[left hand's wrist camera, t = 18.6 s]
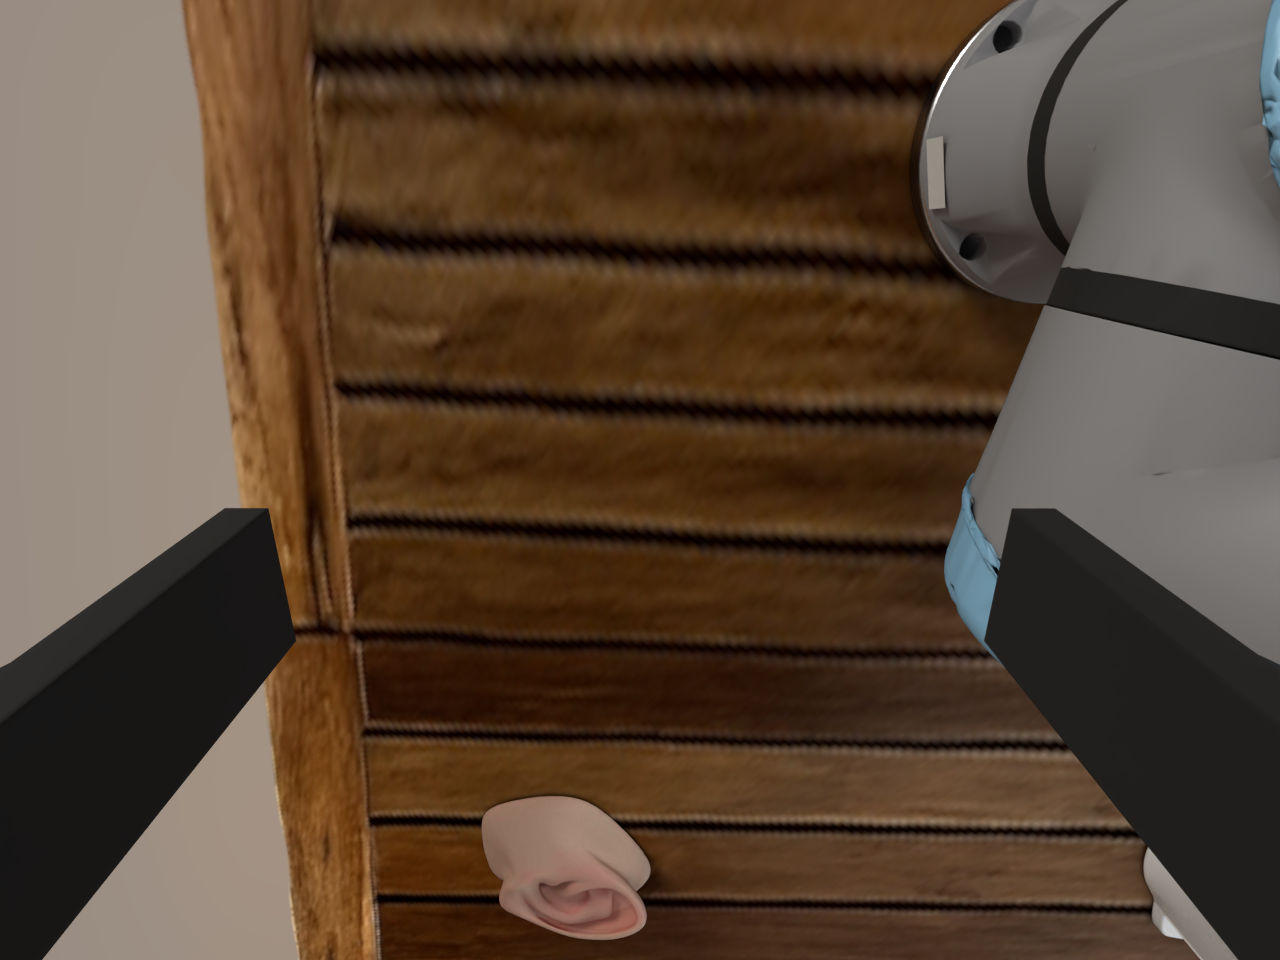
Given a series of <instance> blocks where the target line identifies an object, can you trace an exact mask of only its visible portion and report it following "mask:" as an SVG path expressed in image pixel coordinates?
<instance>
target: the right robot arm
mask: <svg viewBox="0 0 1280 960" xmlns="http://www.w3.org/2000/svg"><path fill="white" fill-rule="evenodd" d="M1143 871H1144V877H1145V881H1146V884H1147V886H1148V888H1149V890H1150V891H1151V893H1152V896H1153V899H1154V903H1153V909H1152V921H1153V923H1154V924H1155V925H1156V927H1157V928H1158V929H1159V930H1160V931H1161V932H1162V934H1164V935H1165V936H1168V937H1173V938H1179V939H1184V940H1185V941H1186V943H1187V944H1188V945H1189V946H1190V947H1191V949H1192V950H1193V951H1194V952H1195V953H1196V955H1197V956H1198V957H1199V958H1200V959H1201V960H1238V959H1237V958H1236V957H1235V955H1234V954H1233V953H1232V952H1231V950H1230V949H1229V948H1228V947H1227V945H1226V944H1225V943H1224V942H1223V940H1222V939H1221V938H1220V937H1219V935H1218V934H1217V933H1216V932H1215V930H1214V929H1213V928H1212V927H1211V925H1210V924H1209V923H1208V922H1207V920H1206V919H1205V918H1204V917H1203V915H1202V914H1201V913H1200V911H1199V910H1198V909H1197V908H1196V906H1195V905H1194V904H1193V903H1192V901H1191V900H1190V899H1189V898H1188V896H1187V895H1186V894H1185V893H1184V891H1183V890H1182V889H1181V888H1180V886H1179V885H1178V884H1177V883H1176V881H1175V880H1174V879H1173V878H1172V876H1171V875H1170V874H1169V873H1168V871H1167V870H1166V869H1165V868H1164V866H1163V865H1162V864H1161V863H1160V861H1159V860H1158V859H1157V858H1156V856H1155V855H1154V854H1153V853H1152V851H1151V850H1150V849H1149V847H1148V848H1147V851H1146V854H1145V858H1144V865H1143Z"/></svg>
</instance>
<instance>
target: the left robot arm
mask: <svg viewBox="0 0 1280 960" xmlns="http://www.w3.org/2000/svg"><path fill="white" fill-rule="evenodd" d="M910 185H911V195H912V201H913V206H914V211H915V214H916V217H917V220H918V224H919V226H920V229H921V231H922V233H923V236H924V238H925V239H926V241H927V243H928V245H929V247H930V248H931V250H932V251H933V252H934V254H935V255H936V257H937V258H938V259H939V260H940V262H941V263H942V264H943V265H944V266H945V267H946V268H947V269H948V270H949V271H950V272H951V273H953V274H954V275H955V276H956V277H957V278H959V279H960V280H962V281H963V282H965V283H966V284H968V285H970V286H972V287H974V288H976V289H977V290H980V291H982V292H985V293H988V294H990V295H994V296H998V297H1002V298H1006V299H1010V300H1014V301H1019V302H1026V303H1039V304H1045V303H1046V304H1047V305H1050V306H1047V305H1044V307H1043V310H1042V312H1041V315H1040V317H1039V320H1038V322H1037V325H1036V327H1035V329H1034V332H1033V334H1032V337H1031V339H1030V342H1029V344H1028V347H1027V349H1026V351H1025V354H1024V356H1023V359H1022V361H1021V364H1020V366H1019V369H1018V371H1017V373H1016V376H1015V378H1014V381H1013V383H1012V386H1011V388H1010V391H1009V393H1008V395H1007V398H1006V400H1005V403H1004V405H1003V408H1002V410H1001V413H1000V415H999V417H998V420H997V422H996V425H995V427H994V430H993V432H992V434H991V437H990V439H989V441H988V444H987V446H986V448H985V451H984V453H983V455H982V457H981V460H980V462H979V464H978V467H977V469H976V471H975V473H973V474H971V476H970V477H969V479H968V480H967V482H966V485H965V488H964V489H963V493H962V508H961V511H960V514H959V517H958V520H957V523H956V527H955V530H954V532H953V535H952V538H951V541H950V543H949V546H948V549H947V553H946V557H945V565H944V573H945V581H946V585H947V588H948V590H949V593H950V596H951V598H952V600H953V601H954V603H955V604H956V605H957V611H958V613H959V615H960V617H961V618H962V620H963V621H964V623H965V624H966V626H967V627H968V628H969V630H970V631H971V632H972V634H973V635H974V636H975V637H976V638H977V640H978V641H979V642H980V643H981V644H982V645H983V646H984V647H985V648H986V649H987V651H988V652H989V653H990V654H991V655H992V656H993V657H994V658H995V659H996V660H997V661H998V662H1000V663H1001V664H1002V665H1003V666H1004V667H1005V668H1006V669H1007V671H1008V672H1009V673H1010V674H1011V676H1012V677H1013V678H1014V679H1015V681H1016V682H1017V683H1018V684H1019V686H1020V687H1021V688H1022V689H1023V691H1024V692H1025V693H1026V694H1027V696H1028V697H1029V698H1030V699H1031V701H1032V702H1033V703H1034V704H1035V706H1036V707H1037V708H1038V709H1039V711H1040V712H1041V713H1042V714H1043V716H1044V717H1045V718H1046V719H1047V721H1048V722H1049V723H1050V724H1051V726H1052V727H1053V728H1054V730H1055V731H1056V732H1057V733H1058V735H1059V736H1060V737H1061V738H1062V740H1063V741H1064V742H1065V743H1066V745H1067V746H1068V747H1069V748H1070V750H1071V751H1072V752H1073V753H1074V755H1075V756H1076V757H1077V758H1078V760H1079V761H1080V762H1081V763H1082V765H1083V766H1084V767H1085V768H1086V770H1087V771H1088V772H1089V773H1090V775H1091V776H1092V777H1093V778H1094V780H1095V781H1096V782H1097V783H1098V785H1099V786H1100V787H1101V788H1102V790H1103V791H1104V792H1105V794H1106V795H1107V796H1108V797H1109V799H1110V800H1111V801H1112V802H1113V804H1114V805H1115V806H1116V807H1117V809H1118V810H1119V811H1120V812H1121V814H1122V815H1123V816H1124V817H1125V819H1126V820H1127V821H1128V822H1129V824H1130V825H1131V826H1132V827H1133V829H1134V830H1135V831H1136V832H1137V834H1138V835H1139V836H1140V837H1141V839H1142V840H1143V841H1144V842H1145V844H1146V845H1147V846H1148V847H1149V849H1150V850H1151V851H1152V853H1153V854H1154V855H1155V856H1156V858H1157V859H1158V860H1159V861H1160V863H1161V864H1162V865H1163V866H1164V868H1165V869H1166V870H1167V871H1168V873H1169V874H1170V875H1171V876H1172V878H1173V879H1174V880H1175V881H1176V883H1177V884H1178V885H1179V886H1180V888H1181V889H1182V890H1183V891H1184V893H1185V894H1186V895H1187V896H1188V898H1189V899H1190V900H1191V901H1192V903H1193V904H1194V905H1195V906H1196V908H1197V909H1198V910H1199V911H1200V913H1201V914H1202V915H1203V917H1204V918H1205V919H1206V920H1207V922H1208V923H1209V924H1210V925H1211V927H1212V928H1213V929H1214V930H1215V932H1216V933H1217V934H1218V935H1219V937H1220V938H1221V939H1222V940H1223V942H1224V943H1225V944H1226V945H1227V947H1228V948H1229V949H1230V950H1231V952H1232V953H1233V954H1234V955H1235V957H1236V958H1237V959H1238V960H1280V0H1013V1H1011V2H1010V3H1008V4H1007V5H1005V6H1004V7H1002V8H1000V9H999V10H997V11H996V12H995V13H993V14H992V15H991V16H990V17H988V18H987V19H986V20H984V21H983V22H982V23H981V24H980V25H979V26H978V27H977V28H976V29H974V30H973V31H972V32H971V33H970V34H969V35H968V37H967V38H966V39H965V40H964V41H963V42H962V43H961V44H960V45H959V46H958V48H957V49H956V50H955V52H954V53H953V54H952V55H951V57H950V58H949V59H948V61H947V62H946V64H945V65H944V67H943V68H942V70H941V71H940V73H939V75H938V76H937V78H936V80H935V82H934V84H933V86H932V87H931V89H930V92H929V94H928V96H927V98H926V100H925V103H924V105H923V108H922V111H921V114H920V116H919V119H918V123H917V127H916V131H915V134H914V140H913V145H912V151H911V163H910ZM1056 307H1057V308H1056ZM1061 308H1062V309H1061ZM1065 309H1067V310H1065ZM1070 310H1072V311H1070ZM1074 311H1077V312H1074ZM1079 312H1082V313H1079ZM1083 313H1087V314H1083ZM1088 314H1091V315H1088ZM1092 315H1095V316H1092ZM1097 316H1100V317H1097ZM1101 317H1104V318H1101ZM1106 318H1108V319H1106ZM1110 319H1113V320H1110ZM1115 320H1117V321H1115ZM1119 321H1121V322H1119ZM1123 322H1126V323H1123ZM1128 323H1130V324H1128ZM1132 324H1134V325H1132ZM1137 325H1139V326H1137ZM1141 326H1143V327H1141ZM1146 327H1147V328H1146ZM1150 328H1151V329H1150ZM1154 329H1155V330H1154ZM1224 345H1225V346H1224ZM1233 347H1234V348H1233ZM295 642H296V638H295V633H294V629H293V624H292V619H291V614H290V610H289V605H288V600H287V595H286V591H285V586H284V581H283V576H282V572H281V567H280V562H279V557H278V553H277V548H276V543H275V538H274V534H273V529H272V524H271V519H270V514H269V510H268V508H225V509H223V510H222V511H220V512H219V513H218V514H216V515H215V516H214V517H212V518H211V519H209V520H208V521H207V522H205V523H204V524H202V525H201V526H200V527H198V528H197V529H195V530H194V531H193V532H191V533H190V534H189V535H187V536H186V537H184V538H183V539H182V540H180V541H179V542H177V543H176V544H175V545H173V546H172V547H170V548H169V549H168V550H166V551H165V552H164V553H162V554H161V555H159V556H158V557H157V558H155V559H154V560H152V561H151V562H150V563H148V564H147V565H145V566H144V567H143V568H141V569H140V570H139V571H137V572H136V573H134V574H133V575H132V576H130V577H129V578H127V579H126V580H125V581H123V582H122V583H121V584H119V585H118V586H116V587H115V588H114V589H112V590H111V591H109V592H108V593H107V594H105V595H104V596H102V597H101V598H100V599H98V600H97V601H96V602H94V603H93V604H91V605H90V606H89V607H87V608H86V609H85V610H83V611H82V612H80V613H79V614H77V615H76V616H75V617H73V618H72V619H71V620H69V621H68V622H66V623H65V624H64V625H62V626H61V627H59V628H58V629H57V630H55V631H54V632H53V633H51V634H50V635H48V636H47V637H46V638H44V639H43V640H41V641H40V642H39V643H37V644H36V645H34V646H33V647H32V648H30V649H29V650H28V651H26V652H25V653H23V654H22V655H21V656H19V657H18V658H16V659H15V660H14V661H12V662H11V663H9V664H7V665H5V666H3V667H1V668H0V960H42V959H43V958H44V957H45V955H46V954H47V953H48V952H49V950H50V949H51V948H52V947H53V945H54V944H55V943H56V942H57V940H58V939H59V938H60V937H61V935H62V934H63V933H64V932H65V930H66V929H67V928H68V927H69V925H70V924H71V923H72V921H73V920H74V919H75V918H76V916H77V915H78V914H79V913H80V911H81V910H82V909H83V908H84V906H85V905H86V904H87V903H88V901H89V900H90V899H91V898H92V896H93V895H94V894H95V893H96V891H97V890H98V889H99V888H100V886H101V885H102V884H103V883H104V881H105V880H106V879H107V878H108V876H109V875H110V874H111V873H112V871H113V870H114V869H115V868H116V866H117V865H118V864H119V863H120V861H121V860H122V859H123V857H124V856H125V855H126V854H127V853H128V851H129V850H130V849H131V847H132V846H133V845H134V844H135V842H136V841H137V840H138V839H139V837H140V836H141V835H142V834H143V832H144V831H145V830H146V829H147V827H148V826H149V825H150V824H151V822H152V821H153V820H154V819H155V817H156V816H157V815H158V814H159V812H160V811H161V810H162V809H163V807H164V806H165V805H166V804H167V802H168V801H169V800H170V799H171V797H172V796H173V795H174V793H175V792H176V791H177V790H178V788H179V787H180V786H181V785H182V783H183V782H184V781H185V780H186V778H187V777H188V776H189V775H190V773H191V772H192V771H193V770H194V768H195V767H196V766H197V765H198V763H199V762H200V761H201V760H202V758H203V757H204V756H205V755H206V753H207V752H208V751H209V750H210V748H211V747H212V746H213V745H214V743H215V742H216V741H217V739H218V738H219V737H220V736H221V735H222V733H223V732H224V731H225V730H226V728H227V727H228V726H229V724H230V723H231V722H232V721H233V719H234V718H235V717H236V716H237V714H238V713H239V712H240V711H241V709H242V708H243V707H244V706H245V704H246V703H247V702H248V701H249V699H250V698H251V697H252V696H253V694H254V693H255V692H256V691H257V689H258V688H259V687H260V686H261V684H262V683H263V682H264V681H265V679H266V678H267V677H268V676H269V674H270V673H271V672H272V671H273V669H274V668H275V667H276V665H277V664H278V663H279V662H280V660H281V659H282V658H283V657H284V655H285V654H286V653H287V652H288V650H289V649H290V648H291V647H292V645H293V644H294V643H295Z"/></svg>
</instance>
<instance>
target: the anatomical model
mask: <svg viewBox="0 0 1280 960" xmlns="http://www.w3.org/2000/svg"><path fill="white" fill-rule="evenodd" d="M482 837H483V845H484V851H485V854H486V857H487V860H488V863H489V866H490V868H491V870H492V871H493V873H494V874H495V875H496V876H497V877H498V878H500V879H501V880H503V884H502V887H501V891H500V895H499V900H500V904H501V906H502V907H503V908H504V909H505V910H506V911H508V912H510V913H512V914H514V915H516V916H519V917H521V918H523V919H526V920H528V921H530V922H533V923H535V924H537V925H540V926H542V927H544V928H547V929H549V930H552V931H554V932H557V933H559V934H563V935H566V936H569V937H574V938H580V939H591V940H609V939H617V938H622V937H626V936H629V935H631V934H634V933H636V932H637V931H639V930H640V929H641V928H642V927H643V926H644V925H645V923H646V917H647V914H646V909H645V906H644V904H643V901H642V900H641V898H640V896H639V895H638V894H637V892H636V891H637V890H638V889H639V888H641V887H642V886H643V885H644V883H645V882H646V881H647V879H648V878H649V875H650V870H651V869H650V864H649V862H648V859H647V858H646V856H645V855H644V853H643V852H642V850H641V849H640V848H639V846H638V845H637V844H636V843H635V842H634V841H633V839H632V838H631V837H630V836H629V835H628V834H627V833H626V832H625V831H624V830H623V829H622V828H621V827H620V826H619V825H618V824H617V823H616V822H615V821H614V820H612V819H611V818H610V817H609V816H608V815H607V814H605V813H604V812H603V811H601V810H600V809H598V808H597V807H595V806H594V805H592V804H590V803H588V802H586V801H583V800H580V799H577V798H572V797H565V796H543V797H533V798H526V799H520V800H515V801H511V802H507V803H503V804H500V805H497V806H495V807H493V808H491V809H490V810H488V811H487V812H486V813H485V815H484V817H483V820H482Z"/></svg>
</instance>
